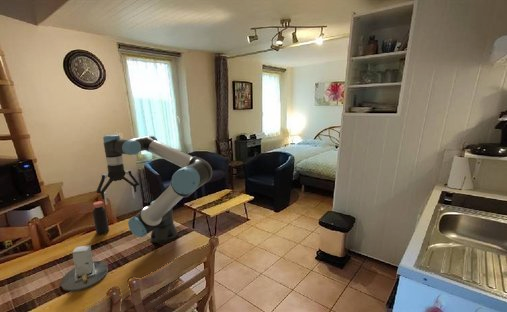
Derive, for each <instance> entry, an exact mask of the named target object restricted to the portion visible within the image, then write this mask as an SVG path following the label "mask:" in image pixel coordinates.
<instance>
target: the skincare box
mask: <svg viewBox="0 0 507 312" xmlns="http://www.w3.org/2000/svg"><path fill="white" fill-rule="evenodd" d="M92 253H93V251H92V245H82V246H76V247H75V248H74V249H73V251H72V260H73V265H74V268H75V272H76V275H83V274H89V273H91V271H92V270H93V268H94V266H93V259H94V258H93V254H92Z"/></svg>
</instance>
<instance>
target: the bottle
mask: <svg viewBox="0 0 507 312" xmlns="http://www.w3.org/2000/svg"><path fill="white" fill-rule="evenodd" d="M92 205H93V210H92V215H93V222H94V227H95V233H96V235H97V236H102V234H103V235H105V233H106V234H107V233H108V232H109V231H110V229H109V223H108V216H107V210H106V207H104V202H103V201H101V200H100V201H99V200H98V201H95V202H93V203H92Z"/></svg>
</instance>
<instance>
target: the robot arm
mask: <svg viewBox="0 0 507 312" xmlns="http://www.w3.org/2000/svg"><path fill="white" fill-rule="evenodd" d="M102 138H103V139H102V140H103V147H104V153H105V160H106V164H107V166H106V168H107V174H104V173H102V174H101V179H100V182H99V184H98V186H97V188H96V194H100V195H101V200H104V204H105V205H106V206H108V200H107V193H106V190H107V189H108V188H109V186H110V185H111V184H112V183H113V182H117V181H122V180H123V181H125V182H127V183H128V184H129V185H131V192H132V198H133V199H136V195H135V193H137V187H138V186H140V183H139V182H138V181H137V179H136V178H135V177H134V175H133V174H132V171H131V169H128V170H125V166H124V159H123V155H127V156H128V155H130V156H134V155H138V154H139V153H141V152H144V151H146V152H148V153H150V154H153V155H154V156H157V157H159V158H160V159H164V160H166V161H167V162H170V163H172V164H174V165H175V166H178V167H180V168H178V170H176V171H175V172H174V173H173V175H172V176H171V180H170V185H169V186H168V187H167V188H166V189H165V190H164V191H163V192H162V193H161V194H160V195H159V196H158V197H157V198H156V199H155V200H153V201H151V202H150V205H147V206H144V207H143V208H142V209H141V210H140V211H139V212H138V213H137V214H136V215H133V216H132V217H131V218H129V219H128V222H127V224H128V228H129V231H130V232H131V233H132V235H134V236H135V237H137V238H143V237H145V236H146V235H147V236H148V234H149V233H150V240H151V242H152V243H155V244H165V243H169V242H172V241H173V240H174V239H176V238H177V236H178V229H177V227H176V225H175V223H174V214H173V213H174V212H173V208H174V206H176V205H177V203H179V202H180V201H181V200H182V199H183V198H188V197H190V196H191V195H193V193H194V192H196V190H197V189H199V188H200V187H202V186H203V185H205V184H207V183H208V182H209V181H210V180H211V179H212V176H213V168H212V166H211V164H210V163H209V162H208V161H206V160H205V159H203V158H201V157H199V156H196V155H195V156H192V155H190V154H188V153H185V152H183V151H181V150H179V149H177V148H174V147H172V146H169V145H167V144H165V143H163V142H161V141H159V140H158V138H157V137H156V136H155V135H145V136H141V137H135V138H134V137H133V138H127V139H121V137H120V135H119V134H107V135H104V136H103V137H102ZM126 175H129V177H130V178H131V180H132V181H133V182H134V183H133V182H132V181H131V180H129V178H127V177H126ZM107 178H109V179H108V180H107V182H106V183H105V184H104V182H105V180H106V179H107ZM103 185H104V186H103Z"/></svg>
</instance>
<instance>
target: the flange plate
mask: <svg viewBox="0 0 507 312" xmlns="http://www.w3.org/2000/svg"><path fill="white" fill-rule="evenodd" d="M93 266H94V268H93V270H92V271H91V273H89V274H83V275H76V272H75V267H73V268H72V269H71V270H69V271H67V273H65V274H64V275H63V276H62V277H61V281H60V286H61V289H62V290H63V291H64V292H65V291H66V292H70V293H71V292H78V291H80V292H81V291H82V290H85V289H88V288H91V287H93V286H95V285H96V284H98V283H99V282H101V281H102V280H103V279H104V278H105V277H106V276H107V274H108V272H109V266H108V264H107V263H106V262H105V261H100V260H95V261H93Z"/></svg>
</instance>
